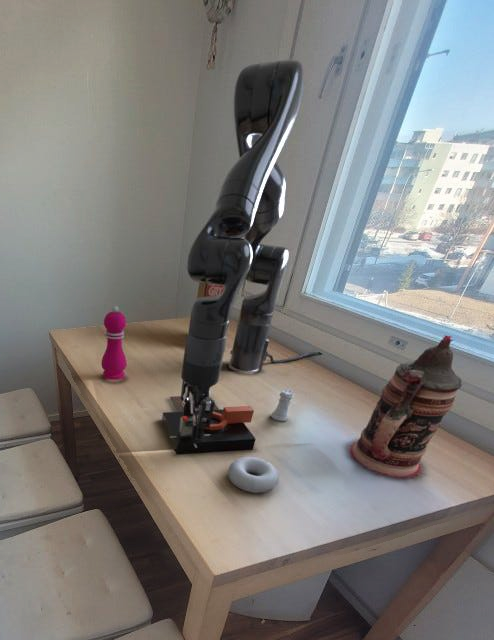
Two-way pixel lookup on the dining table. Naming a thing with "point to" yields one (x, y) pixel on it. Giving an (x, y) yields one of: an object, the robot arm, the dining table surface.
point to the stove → (209, 437)
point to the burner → (216, 421)
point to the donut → (250, 482)
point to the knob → (186, 427)
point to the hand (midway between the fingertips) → (191, 430)
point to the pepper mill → (114, 345)
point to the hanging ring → (232, 416)
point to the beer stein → (408, 413)
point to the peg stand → (178, 402)
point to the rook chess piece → (283, 406)
